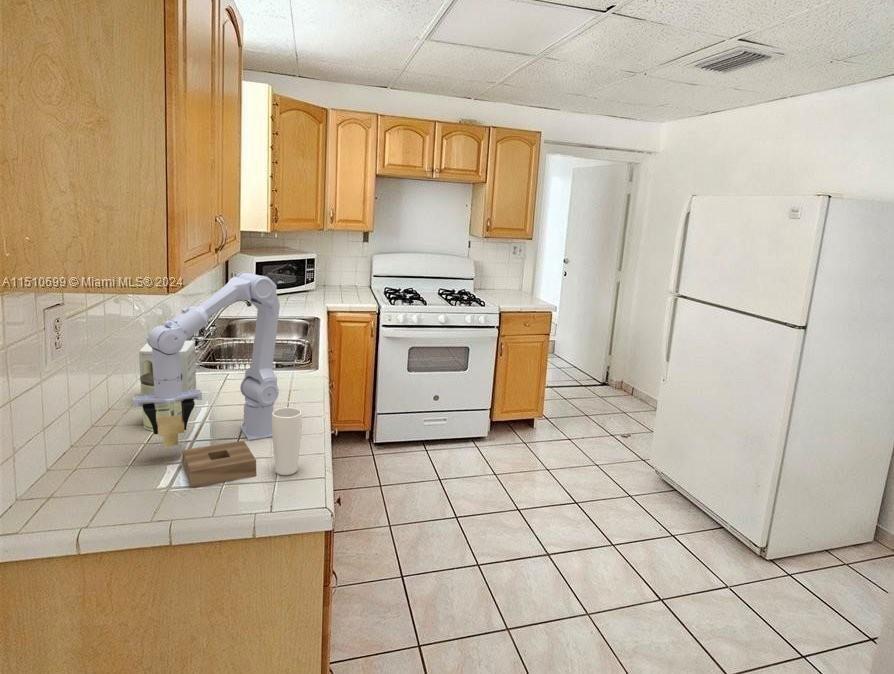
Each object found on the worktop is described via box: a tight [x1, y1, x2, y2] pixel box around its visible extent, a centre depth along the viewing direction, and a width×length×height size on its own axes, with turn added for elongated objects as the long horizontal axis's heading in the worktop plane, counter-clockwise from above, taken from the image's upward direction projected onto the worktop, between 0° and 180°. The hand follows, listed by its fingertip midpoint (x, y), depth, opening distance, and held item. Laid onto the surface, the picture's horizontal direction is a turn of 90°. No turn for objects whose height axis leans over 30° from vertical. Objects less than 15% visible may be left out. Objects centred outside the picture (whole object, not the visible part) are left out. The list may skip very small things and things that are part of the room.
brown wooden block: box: [181, 440, 257, 489], centre depth 133 cm, size 12×14×4 cm
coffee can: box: [139, 372, 183, 432], centre depth 155 cm, size 10×10×14 cm
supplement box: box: [138, 340, 197, 396], centre depth 173 cm, size 13×13×18 cm
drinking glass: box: [271, 406, 303, 476], centre depth 134 cm, size 7×7×15 cm
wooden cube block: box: [156, 415, 185, 448], centre depth 136 cm, size 6×6×6 cm
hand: (169, 430), depth 136 cm, fingers closed on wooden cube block, 6 cm apart
